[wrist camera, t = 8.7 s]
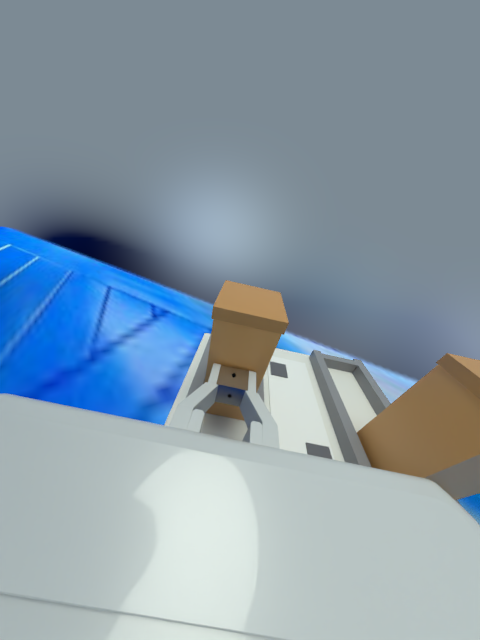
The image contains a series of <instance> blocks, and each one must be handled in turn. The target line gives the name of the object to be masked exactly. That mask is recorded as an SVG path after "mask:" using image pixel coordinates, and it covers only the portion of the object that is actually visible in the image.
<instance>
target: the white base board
mask: <svg viewBox="0 0 480 640" xmlns="http://www.w3.org/2000/svg"><path fill="white" fill-rule="evenodd" d="M211 334H212V332H211ZM211 334H208V333H205V334H204V336H203V339H202V341H201V343H200V345H199V348H198V350H197V352H196V354H195V357H194V359H193V361H192V363H191V366H190V368H189V370H188V372H187V375H186V377H185V379H184V382H183V384H182V386H181V388H180V391H179V393H178V395H177V397H176V400H175V402H174V404H173V406H172V409H171V411H170V413H169V415H168V418H167V420H166V422H165V424H164V425H165V426H169V424H170V422H171V420H172V417H173V415H174V413H175V410H176V408H177V405H178V404H179V403H180V402H182V401H183V400H184V399H185V398H187V397H188V396H189V395H190V394H192V393H193V392H194V391H195V390H197V389H198V388H199V387H200V386H201V385H203V384H204V383H205V376H206V369H207V362H208V355H209V348H210V341H211ZM257 393H258V394H259V395H260V397H261V399H262V400H263V402H264V404H265V405H266V407H267V409H268V410H269V412H270V414H271V415H272V417H273V419H274V420H275V422H276V424H277V425H278V436H279V447H280V449H283V450H288V451H293V452H298V453H303V454H308V455H313V456H318V457H323V458H328V459H333V460H337V461H342V462H347V463H352V464H357V465H362V466H367V467H372V466H371V464H370V462H369V460H368V457H367V455H366V453H365V451H364V448H363V446H362V444H361V442H360V439H359V437H358V435H357V432H358V431H359V430H360V429H362V428H363V427H364V426H365V425H366V424H368V423H369V422H370V421H371V420H372V419H374V418H375V417H376V416H377V415H378V414H380V413H381V412H382V411H383V410H384V409H386V408H387V407H388V406H389V405H390V404H391V403H390V402H389V401H388V399H387V398H386V396H385V395H384V393H383V392H382V390H381V389H380V387H379V386H378V385H377V383H376V382H375V380H374V379H373V377H372V376H371V374H370V373H369V372H368V370H367V369H366V367H365V366H364V364H363V363H362V361H361V360H357V359H353V360H348V359H344V358H339V357H335V356H330V355H325V354H321V352H320V351H316V350H313V352H312V353H311V355H310V356H309V355H305V354H300V353H295V352H291V351H286V350H282V349H277V348H275V351H274V353H273V355H272V358H271V360H270V362H269V365H268V367H267V370H266V372H265V374H264V377H263V379H262V381H261V384H260V386H259V388H258V391H257ZM247 430H248V428H247V425H246V423H245V421H243V420H238V419H233V418H228V417H223V416H218V415H213V414H209V413H205V414H204V418H203V424H202V430H201V433H204V434H209V435H214V436H219V437H224V438H229V439H234V440H239V441H242V440H243V438H244V436H245V434H246V432H247ZM455 501H456V502H457V503H458V504H459V505H460V503H459V502H458V501H457V500H455Z"/></svg>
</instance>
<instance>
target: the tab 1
mask: <svg viewBox="0 0 480 640" xmlns="http://www.w3.org/2000/svg"><path fill="white" fill-rule="evenodd" d="M212 319H214V320H213V327H212V334H211V341H210V348H209V355H208V362H207V369H206V376H205V382H208V380H209V377H210V373H211V370H212V367H213V364H214V363H216V364H221V365H225V366H229V367H233V368H239V369H244V370H248V371H253V372H256V393H257V391H258V388H259V386H260V384H261V381H262V379H263V377H264V374H265V372H266V370H267V367H268V365H269V362H270V360H271V358H272V355H273V353H274V351H275V348H276V346H277V344H278V341H279V339H280V336H281V334H284V333H285V331H286V328H287V326H288V324H289V323H288V319H287V315H286V311H285V308H284V304H283V300H282V297H281V293H279V292H275V291H271V290H266V289H262V288H258V287H253V286H249V285H245V284H240V283H236V282H231V281H227V280H226V281H225V283H224V285H223V287H222V289H221V291H220V293H219V295H218V297H217V300H216V302H215V304H214V306H213V312H212ZM206 413H209V414H213V415H218V416H223V417H228V418H233V419H238V420H243V421H245V420H244V418H243V415H242V413H241V410H240V408H239V407H238V406H234V405H229V404H225V403H219V402H215V403H214V404H213V405H212V406H211V407H210V408H209V409H208V410H207V411H206Z"/></svg>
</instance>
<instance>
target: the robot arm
mask: <svg viewBox="0 0 480 640" xmlns="http://www.w3.org/2000/svg"><path fill="white" fill-rule="evenodd" d="M215 402H219V403H225V404H229V405H234V406H238V407H239V408H240V410H241V413H242V415H243V418H244V420H245V423H246V425H247V428H248V430H247V432H246V434H245V436H244V438H243V440H242V441H239V440H234V439H229V438H224V437H219V436H214V435H209V434H204V433H201V430H202V424H203V418H204V414H205V413H206V411H207V410H208V409H209V408H210V407H211V406H212V405H213V404H214V403H215ZM0 640H480V525H479V524H478V523H477V522H476V520H475V519H474V518H473V517H472V516H471V515H470V514H469V513H468V512H467V511H466V510H465V509H464V508H463V507H462V506H461V505H459V504H458V503H457V502H456V501H455V500H454V499H453V498H452V497H451V496H450V495H449V494H448V493H447V492H446V491H444V490H443V489H442V488H441V487H440V486H439V485H437V484H436V483H435V482H433V481H431V480H429V479H426V478H422V477H417V476H412V475H407V474H402V473H397V472H392V471H387V470H382V469H377V468H372V467H367V466H362V465H357V464H352V463H347V462H342V461H337V460H333V459H328V458H323V457H318V456H313V455H308V454H303V453H298V452H293V451H288V450H283V449H280V447H279V436H278V425H277V424H276V422H275V420H274V419H273V417H272V415H271V414H270V412H269V410H268V409H267V407H266V405H265V404H264V402H263V400H262V399H261V397H260V395H259V394H258V393H256V372H253V371H248V370H244V369H239V368H233V367H229V366H225V365H221V364H216V363H214V364H213V367H212V370H211V373H210V377H209V380H208V382H205V383H204V384H203V385H201V386H200V387H199V388H198V389H197V390H195V391H194V392H193V393H192V394H190V395H189V396H188V397H187V398H185V399H184V400H183V401H182V402H180V403H179V404H178V405H177V408H176V410H175V413H174V415H173V417H172V420H171V422H170V424H169V426H165V425H160V424H155V423H150V422H145V421H140V420H135V419H130V418H125V417H120V416H115V415H110V414H105V413H101V412H96V411H91V410H86V409H81V408H76V407H71V406H66V405H61V404H56V403H51V402H46V401H42V400H37V399H32V398H27V397H22V396H17V395H12V394H0Z"/></svg>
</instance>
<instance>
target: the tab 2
mask: <svg viewBox="0 0 480 640" xmlns="http://www.w3.org/2000/svg"><path fill="white" fill-rule="evenodd" d="M436 363H437V364H438V365H437V366H436V367H435V368H434V369H432V370H431V371H430V372H429V373H428V374H427V375H425V376H424V377H423V378H422V379H420V380H419V381H418V382H417V383H416V384H414V385H413V386H412V387H411V388H410V389H408V390H407V391H406V392H405V393H404V394H402V395H401V396H400V397H399V398H398V399H396V400H395V401H394V402H393V403H392V404H390V405H389V406H388V407H387V408H386V409H384V410H383V411H382V412H381V413H380V414H378V415H377V416H376V417H375V418H374V419H372V420H371V421H370V422H369V423H368V424H366V425H365V426H364V427H363V428H362V429H360V430H359V431H358V432H357V435H358V437H359V439H360V442H361V444H362V446H363V448H364V451H365V453H366V455H367V457H368V460H369V462H370V464H371V466H372V468H377V469H382V470H387V471H392V472H397V473H402V474H407V475H412V476H417V477H422V478H426V479H429V480H431V481H433V482H435V483H436V484H437V485H439V486H440V487H441V488H442V489H443V490H444V491H446V492H447V493H448V494H449V495H450V496H451V497H452V498H453V499H454V500H457V499H461V498H464V497H468V496H471V495H474V494H478V493H480V360H475V359H471V358H466V357H462V356H457V355H453V354H448V353H447V354H446V355H444V356H443V357H442V358H441V359H440V360H438V361H437V362H436Z"/></svg>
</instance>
